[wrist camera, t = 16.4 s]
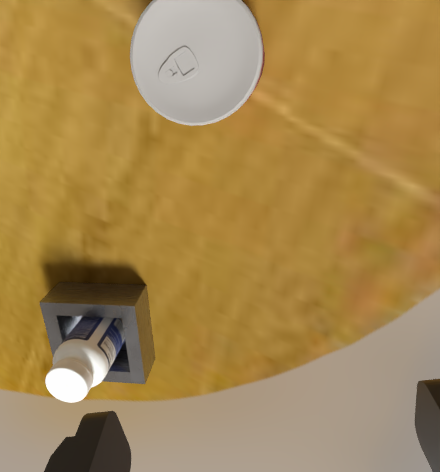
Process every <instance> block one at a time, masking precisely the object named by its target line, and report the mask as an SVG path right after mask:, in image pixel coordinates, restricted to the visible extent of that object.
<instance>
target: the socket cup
mask: <svg viewBox="0 0 440 472" xmlns="http://www.w3.org/2000/svg"><path fill="white" fill-rule="evenodd" d="M40 306H41V310H42V314H43V318H44V322H45V326H46V330H47V334H48V338H49V342H50V346H51V350H52V354H53V357H54V354H55V352H56V350H57V349H58V347H59V346H60V345H61V343H62V342H63V341H64V340H65V338H66V337H67V336H68V334H69V333H70V332H71V331H72V329H73V328H74V327H75V326H76V324H77V323H78V322H79V321H80V319H81V318H82V317H106V318H122V322H123V329H124V335H125V341H124V343H123V345H122V347H121V349H120V351H119V352H118V354H117V356H116V358H115V360H114V362H113V363H112V365H111V367H110V369H109V371H108V373H107V375H106V376H105V378H104V379H103V380H102V381H108V382H123V383H139V384H145V383H146V381H147V378H148V376H149V373H150V370H151V368H152V365H153V363H154V360H155V352H154V343H153V335H152V327H151V318H150V310H149V302H148V293H147V285H134V284H105V283H75V282H59V283H58V284H57V285H56V286H55V287H54V288H53V289H52V290H51V291H50V292H49V293H48V294H47V295H46V296H45V297H44V298H43V299H42V300H41V301H40Z"/></svg>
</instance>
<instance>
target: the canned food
mask: <svg viewBox="0 0 440 472" xmlns="http://www.w3.org/2000/svg"><path fill="white" fill-rule="evenodd" d="M264 55H265V53H264V46H263V40H262V34H261V31H260V29H259V26H258V23H257V21H256V19H255V17H254V16H253V14H252V12H251V11H250V9H249V8H248V6H247V5H246V4H245V3H244V2H243V1H242V0H153V1H152V2H151V3H150V4H149V5H148V6H147V8H146V9H145V10H144V12H143V13H142V14H141V16H140V18H139V20H138V22H137V24H136V26H135V29H134V33H133V37H132V40H131V50H130V60H131V70H132V73H133V77H134V81H135V83H136V85H137V87H138V89H139V92H140V94H141V95H142V96H143V98H144V99H145V101H146V102H147V103H148V104H149V105H150V106H151V107H152V108H153V109H154V110H155V111H156V112H157V113H159V114H160V115H162V116H163V117H165V118H167V119H169V120H171V121H174V122H176V123H179V124H185V125H206V124H210V123H215V122H218V121H220V120H222V119H224V118H226V117H228V116H230V115H231V114H232V113H234V112H235V111H237V110H238V109H239V108H240V107H241V106H242V105H243V104H244V103H245V102H246V101H247V100H248V98H249V97H250V95H251V94H252V92H253V91H254V89H255V88H256V86H257V84H258V82H259V80H260V77H261V75H262V71H263V67H264Z"/></svg>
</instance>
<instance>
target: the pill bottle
mask: <svg viewBox="0 0 440 472" xmlns="http://www.w3.org/2000/svg"><path fill="white" fill-rule="evenodd" d="M124 341H125V335H124V329H123V322H122V318H106V317H82V318H81V319H80V321H79V322H78V323H77V324H76V326H75V327H74V328H73V329H72V331H71V332H70V333H69V334H68V336H67V337H66V338H65V340H64V341H63V342H62V343H61V345H60V346H59V347H58V349H57V350H56V352H55V354H54V357H53V366H52V368H51V369H50V371H49V372H48V374H47V376H46V379H45V382H46V387H47V389H48V390H49V392H50V393H51V394H52V395H53V396H54V397H56V398H57V399H59V400H61V401H65V402H78V401H80V400H82V399H83V398H84V397H85V396H86V395H87V393H88V391H89V390H90V388H91V387H94V386H96V385H98V384H99V383H100V382H101V381H102V380H103V379H104V378H105V376H106V375H107V373H108V371H109V369H110V367H111V365H112V363H113V362H114V360H115V358H116V356H117V354H118V352H119V351H120V349H121V347H122V345H123V343H124Z"/></svg>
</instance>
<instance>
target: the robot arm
mask: <svg viewBox="0 0 440 472" xmlns="http://www.w3.org/2000/svg"><path fill="white" fill-rule="evenodd" d="M415 428H416V433H417V436H418V440H419V443H420V445H421V448H422V450H423V452H424V454H425V456H426V458H427V460H428V462H429V465H430V467H431V469H432V471H433V472H440V379H433V380H424V381H419V382H418V384H417V395H416V409H415ZM130 468H131V451H130V447H129V443H128V441H127V439H126V436H125V434H124V431H123V429H122V426H121V424H120V422H119V419H118V417H117V415H116V413H115V412H114V411H108V412H98V413H88V414H86V415H84V416H83V418H82V420H81V422H80V425H79V427H78V430H77V432H76V435H75V436H74V437H66V438H65V439H64V441H63V442H62V443H61V444H60V445H59V447H58V448H57V449H56V450H55V452H54V453H53V454H52V455H51V457H50V459H49V462H48V464H47V466H46V468H45V471H44V472H130Z"/></svg>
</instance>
